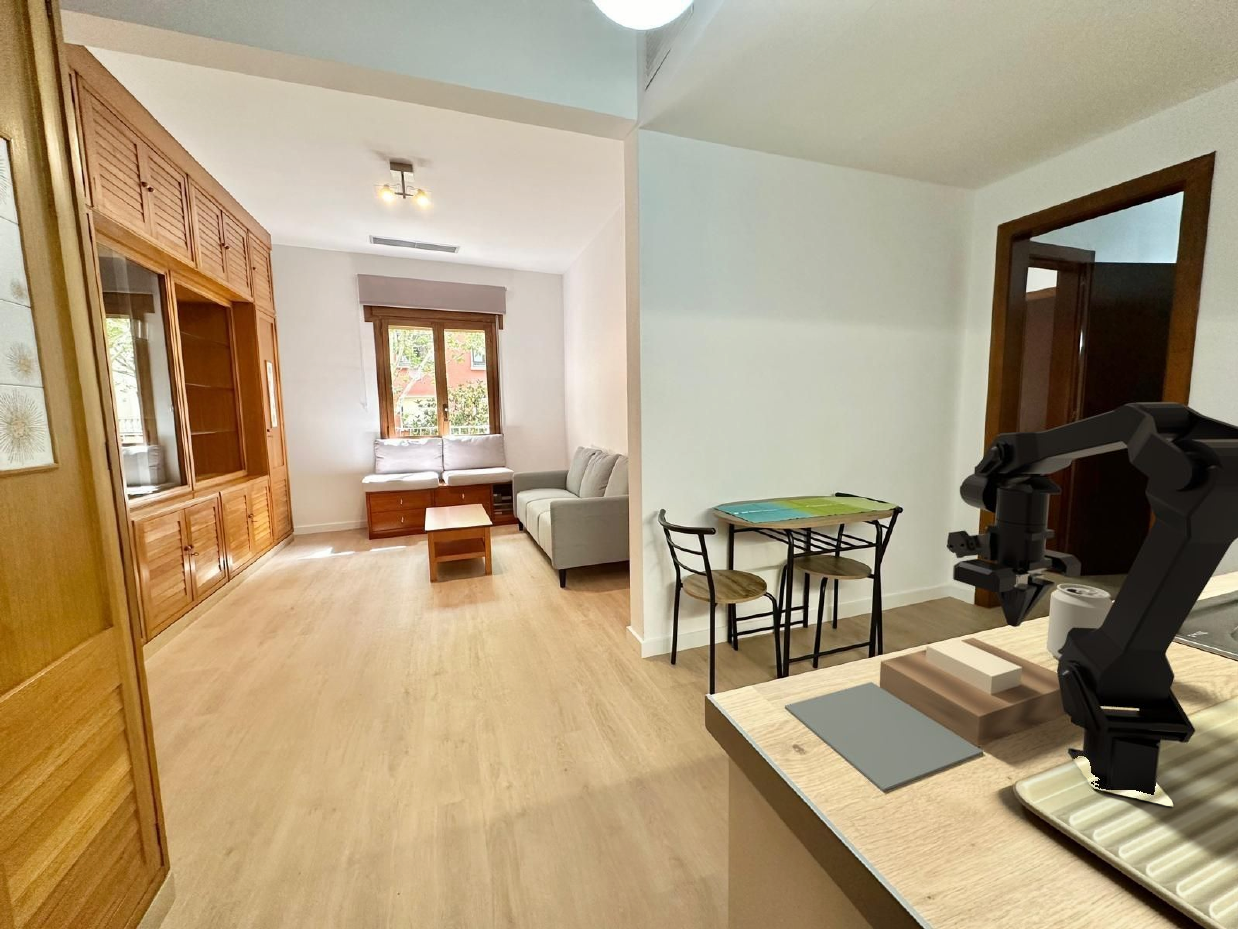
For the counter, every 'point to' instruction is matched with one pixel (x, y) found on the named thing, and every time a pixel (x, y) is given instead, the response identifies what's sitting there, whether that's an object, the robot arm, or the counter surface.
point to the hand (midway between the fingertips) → (1013, 625)
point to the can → (1074, 612)
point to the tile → (974, 665)
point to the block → (974, 696)
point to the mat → (882, 734)
